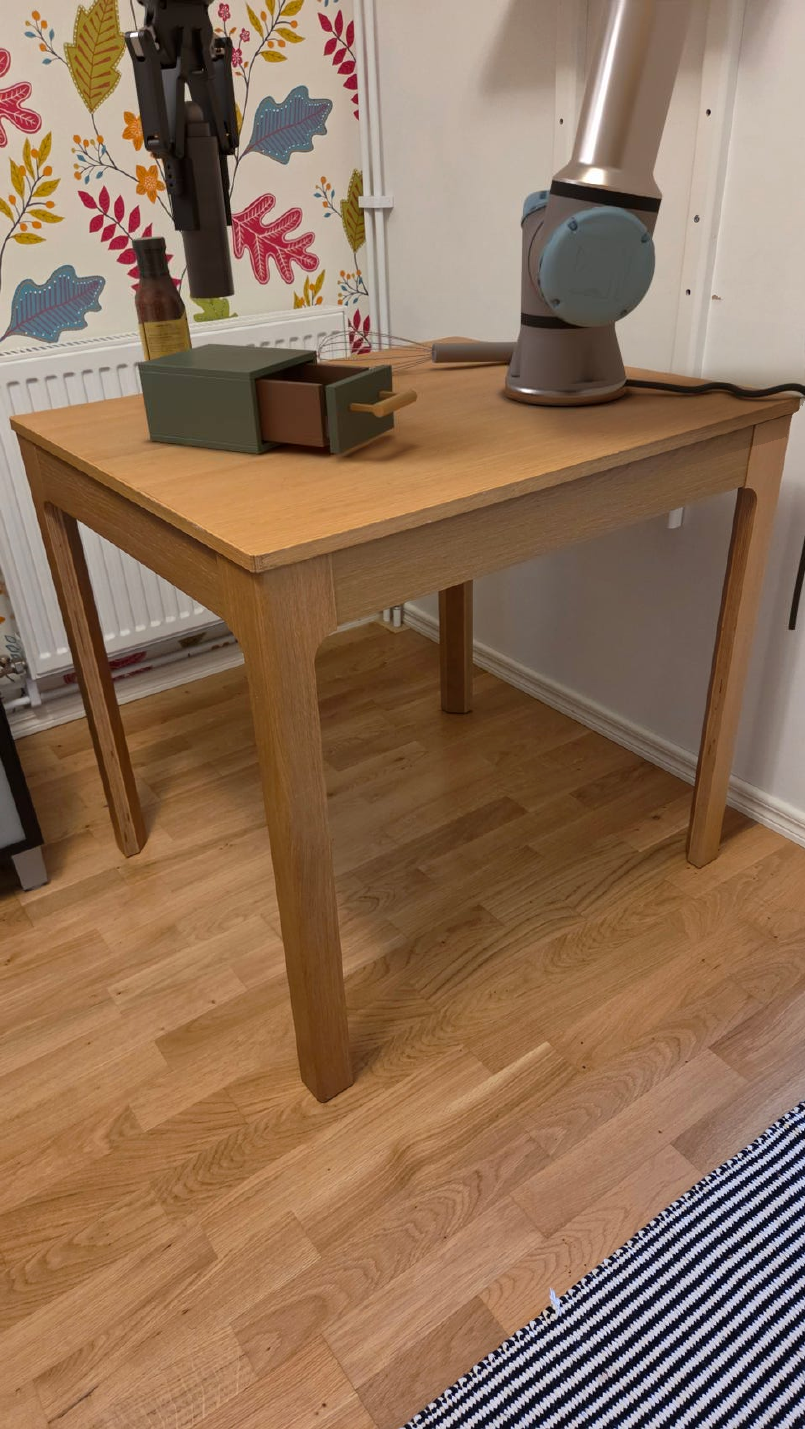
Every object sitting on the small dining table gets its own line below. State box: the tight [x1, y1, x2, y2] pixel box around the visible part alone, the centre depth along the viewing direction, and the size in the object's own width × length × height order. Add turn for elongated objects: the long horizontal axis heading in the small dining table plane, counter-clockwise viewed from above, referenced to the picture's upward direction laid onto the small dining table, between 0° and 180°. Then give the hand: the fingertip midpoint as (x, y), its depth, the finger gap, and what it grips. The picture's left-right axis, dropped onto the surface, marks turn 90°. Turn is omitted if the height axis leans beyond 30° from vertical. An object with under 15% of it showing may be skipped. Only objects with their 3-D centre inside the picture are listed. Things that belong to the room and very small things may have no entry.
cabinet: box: [137, 343, 318, 455], centre depth 113 cm, size 16×13×9 cm
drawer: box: [255, 362, 418, 455], centre depth 108 cm, size 19×11×7 cm, turn 60°
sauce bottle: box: [131, 235, 193, 362], centre depth 126 cm, size 7×6×20 cm
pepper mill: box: [171, 100, 236, 300], centre depth 104 cm, size 5×5×18 cm
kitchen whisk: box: [317, 330, 517, 374], centre depth 142 cm, size 6×34×6 cm, turn 105°
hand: (204, 227), depth 105 cm, fingers closed on pepper mill, 5 cm apart
